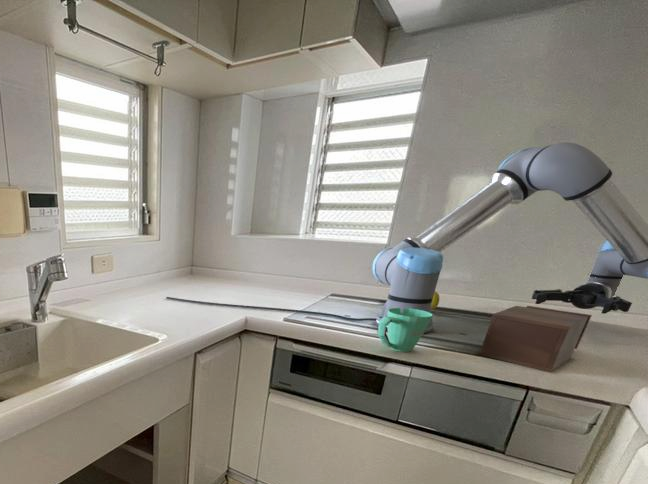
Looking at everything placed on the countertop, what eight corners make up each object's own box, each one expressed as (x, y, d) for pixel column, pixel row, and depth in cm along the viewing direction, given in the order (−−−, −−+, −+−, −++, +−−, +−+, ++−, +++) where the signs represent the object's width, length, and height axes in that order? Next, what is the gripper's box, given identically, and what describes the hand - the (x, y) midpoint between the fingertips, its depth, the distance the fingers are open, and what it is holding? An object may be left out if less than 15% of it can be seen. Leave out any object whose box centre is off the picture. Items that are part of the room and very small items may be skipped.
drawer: (522, 333, 117) (534, 303, 113) (582, 344, 107) (597, 312, 104) (497, 345, 107) (508, 312, 103) (560, 359, 97) (576, 323, 94)
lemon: (415, 309, 148) (420, 288, 145) (431, 310, 147) (437, 288, 144) (421, 313, 143) (427, 291, 140) (438, 314, 142) (445, 291, 139)
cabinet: (502, 344, 111) (515, 305, 107) (570, 358, 100) (588, 316, 96) (479, 355, 103) (493, 313, 99) (550, 372, 92) (569, 326, 88)
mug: (396, 341, 113) (404, 306, 109) (430, 352, 105) (441, 314, 101) (358, 348, 108) (366, 311, 104) (392, 360, 99) (402, 320, 96)
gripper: (645, 315, 114) (630, 327, 103) (532, 300, 133) (509, 308, 122) (659, 289, 111) (644, 298, 100) (541, 277, 130) (518, 283, 119)
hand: (570, 303), depth 111 cm, fingers open, 13 cm apart
